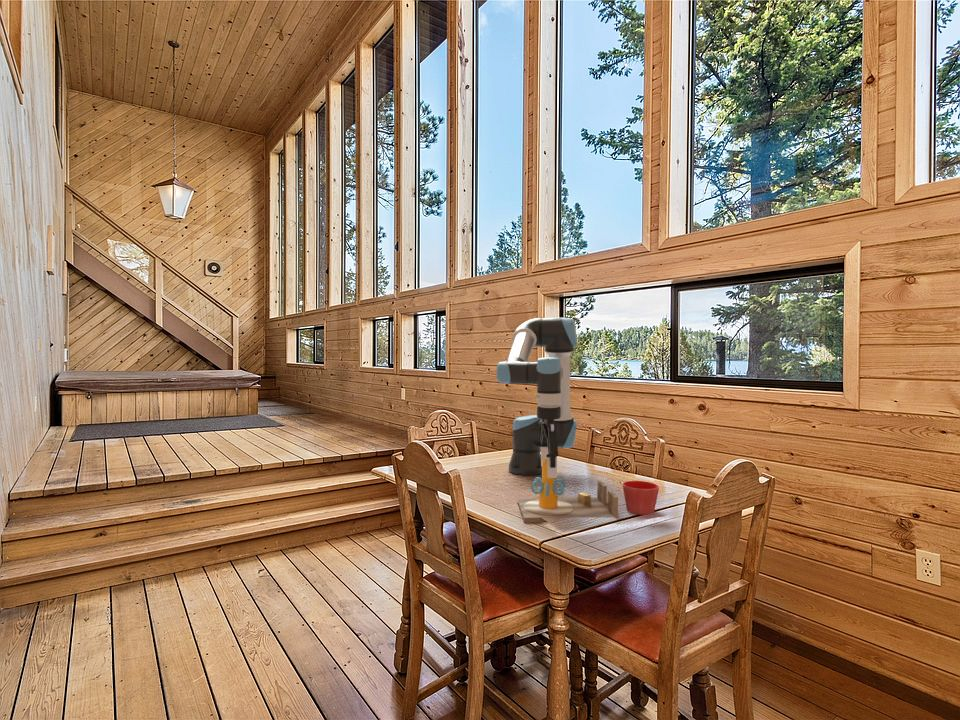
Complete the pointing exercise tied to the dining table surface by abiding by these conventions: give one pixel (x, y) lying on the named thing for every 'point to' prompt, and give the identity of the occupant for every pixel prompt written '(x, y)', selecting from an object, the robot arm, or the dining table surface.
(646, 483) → the flower pot
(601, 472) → the dining table surface
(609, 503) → the board
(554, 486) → the cylinder
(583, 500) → the wooden block
